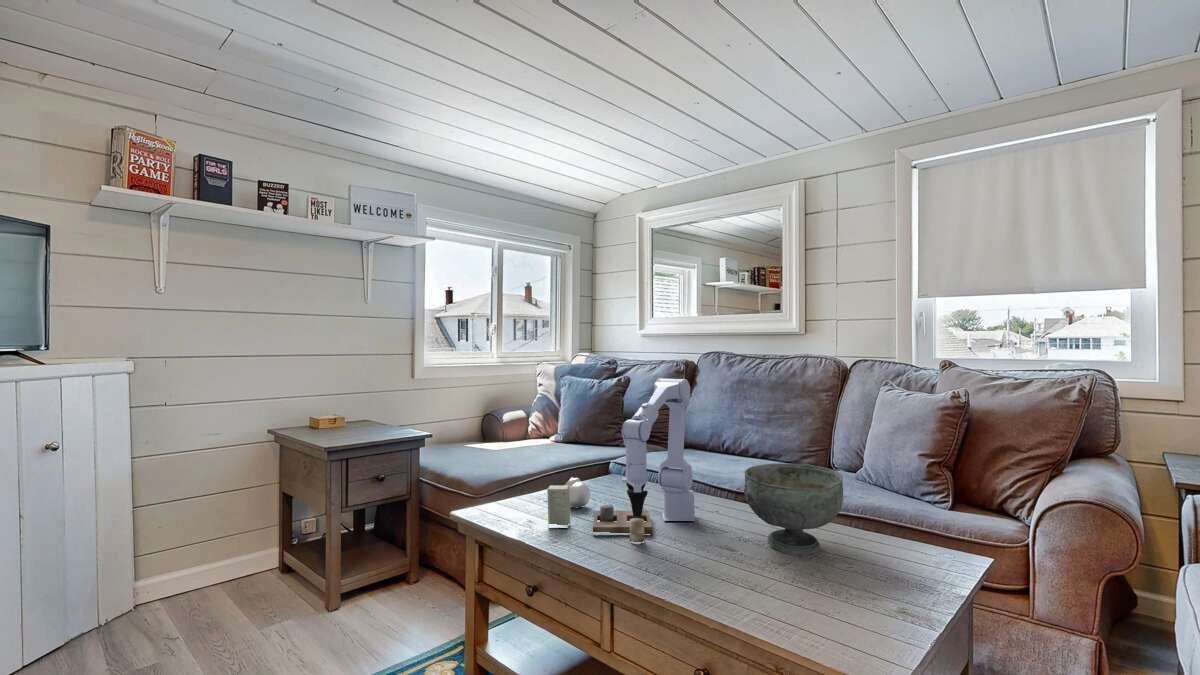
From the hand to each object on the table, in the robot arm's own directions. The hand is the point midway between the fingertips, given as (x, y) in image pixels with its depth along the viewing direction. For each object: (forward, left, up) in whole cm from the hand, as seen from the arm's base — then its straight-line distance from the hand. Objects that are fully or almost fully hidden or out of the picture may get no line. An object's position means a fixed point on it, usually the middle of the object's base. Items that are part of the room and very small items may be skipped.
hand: (636, 511), depth 159 cm
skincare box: (+23, -13, -9) cm, 28 cm away
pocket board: (+4, -13, -8) cm, 16 cm away
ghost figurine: (+19, -33, -9) cm, 39 cm away
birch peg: (0, 0, -8) cm, 8 cm away
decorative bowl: (-42, +4, -9) cm, 43 cm away
